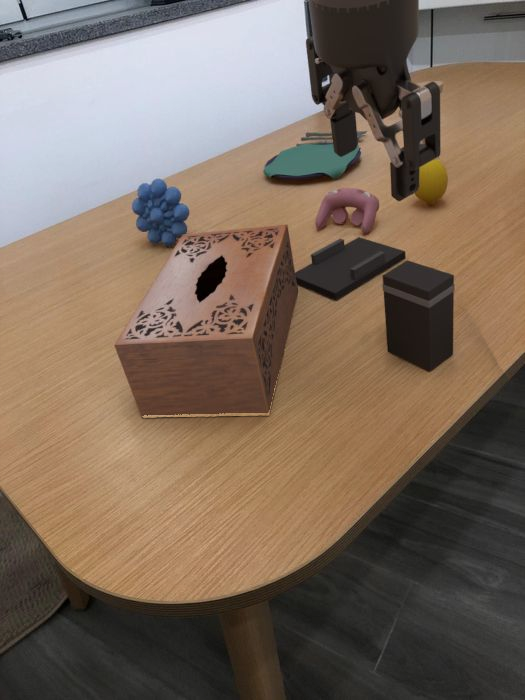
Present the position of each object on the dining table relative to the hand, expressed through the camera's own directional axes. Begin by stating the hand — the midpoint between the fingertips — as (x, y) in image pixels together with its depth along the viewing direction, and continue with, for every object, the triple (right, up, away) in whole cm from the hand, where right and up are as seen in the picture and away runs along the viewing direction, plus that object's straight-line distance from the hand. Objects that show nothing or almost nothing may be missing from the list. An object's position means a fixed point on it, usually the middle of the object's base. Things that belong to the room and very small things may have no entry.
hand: (373, 172), depth 53 cm
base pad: (+2, -4, +33) cm, 33 cm away
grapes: (-25, +3, +51) cm, 57 cm away
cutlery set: (+3, +25, +74) cm, 78 cm away
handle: (+21, +18, +59) cm, 65 cm away
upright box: (+8, -16, +14) cm, 23 cm away
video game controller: (+4, +4, +45) cm, 45 cm away
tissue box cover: (-14, -16, +22) cm, 30 cm away
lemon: (+18, +8, +46) cm, 50 cm away
